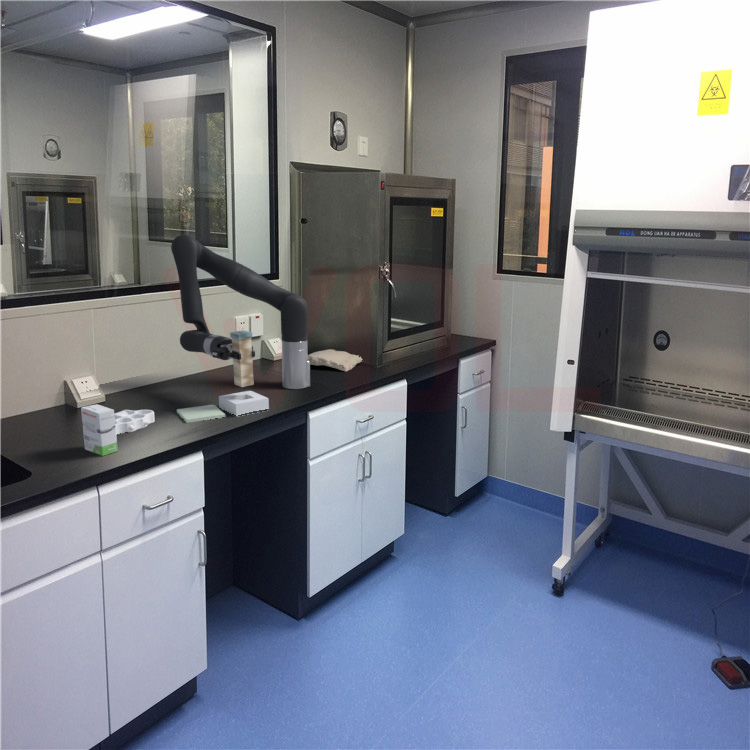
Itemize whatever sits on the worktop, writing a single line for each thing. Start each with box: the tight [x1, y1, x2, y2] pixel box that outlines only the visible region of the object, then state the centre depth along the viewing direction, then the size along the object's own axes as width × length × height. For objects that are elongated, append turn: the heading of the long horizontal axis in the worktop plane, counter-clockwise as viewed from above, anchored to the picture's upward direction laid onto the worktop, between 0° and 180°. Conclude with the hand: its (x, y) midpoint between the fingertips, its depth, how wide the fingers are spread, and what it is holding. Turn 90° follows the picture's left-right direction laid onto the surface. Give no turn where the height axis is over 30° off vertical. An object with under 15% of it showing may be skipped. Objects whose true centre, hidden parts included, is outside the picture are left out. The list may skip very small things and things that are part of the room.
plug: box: [229, 330, 255, 388], centre depth 213 cm, size 5×5×17 cm
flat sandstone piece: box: [308, 348, 363, 372], centre depth 278 cm, size 24×8×20 cm
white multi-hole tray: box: [114, 409, 156, 436], centre depth 199 cm, size 3×18×15 cm
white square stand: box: [218, 390, 270, 417], centre depth 217 cm, size 12×12×4 cm
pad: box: [176, 404, 226, 424], centre depth 210 cm, size 12×12×1 cm
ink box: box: [80, 403, 119, 457], centre depth 177 cm, size 9×5×12 cm, turn 53°
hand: (246, 355), depth 211 cm, fingers closed on plug, 4 cm apart
